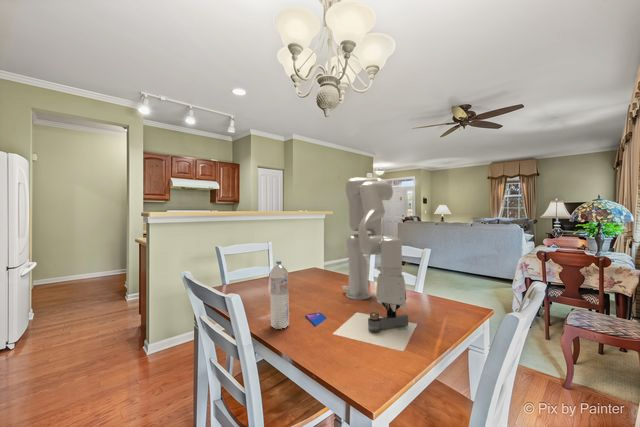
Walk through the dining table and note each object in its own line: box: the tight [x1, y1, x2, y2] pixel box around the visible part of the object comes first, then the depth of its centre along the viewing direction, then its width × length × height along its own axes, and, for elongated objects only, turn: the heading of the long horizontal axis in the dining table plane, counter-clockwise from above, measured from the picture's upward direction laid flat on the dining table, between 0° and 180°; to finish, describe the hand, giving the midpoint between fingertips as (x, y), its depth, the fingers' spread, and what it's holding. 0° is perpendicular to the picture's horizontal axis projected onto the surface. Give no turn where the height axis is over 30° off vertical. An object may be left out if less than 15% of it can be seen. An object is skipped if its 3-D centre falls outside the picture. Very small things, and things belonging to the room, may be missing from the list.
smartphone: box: [304, 312, 327, 328], centre depth 107 cm, size 7×1×15 cm
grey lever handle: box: [368, 311, 409, 333], centre depth 96 cm, size 15×4×6 cm, turn 106°
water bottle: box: [269, 260, 290, 330], centre depth 103 cm, size 7×7×25 cm
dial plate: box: [332, 312, 418, 352], centre depth 96 cm, size 24×22×2 cm
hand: (391, 320), depth 100 cm, fingers closed
